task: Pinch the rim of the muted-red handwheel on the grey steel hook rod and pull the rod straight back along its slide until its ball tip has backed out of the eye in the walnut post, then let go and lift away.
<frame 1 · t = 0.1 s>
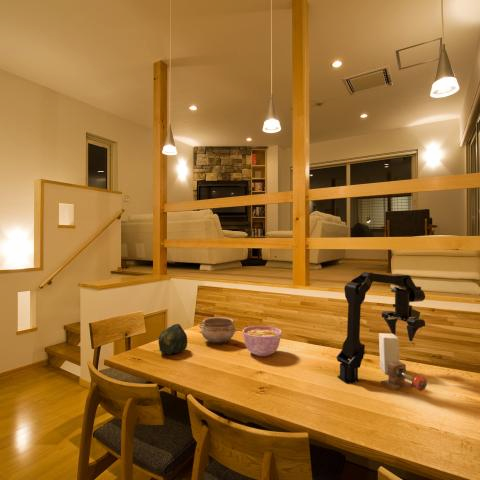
hand: (402, 337, 134), 15 cm above the table, fingers open, 9 cm apart
bowl of food: (261, 354, 154), on the table
hook rod: (404, 375, 117), point 5 cm above the table, slide at 0.0 cm
cooking pot: (218, 342, 172), on the table
skincare box: (388, 371, 134), on the table
eye post: (396, 385, 120), on the table
squash: (172, 352, 156), on the table
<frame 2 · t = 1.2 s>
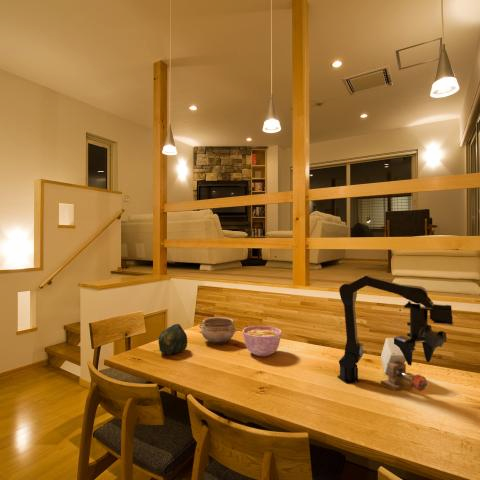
hand: (418, 363, 111), 12 cm above the table, fingers open, 9 cm apart
skincare box: (389, 365, 133), point 3 cm above the table, touching eye post
everything else where it was.
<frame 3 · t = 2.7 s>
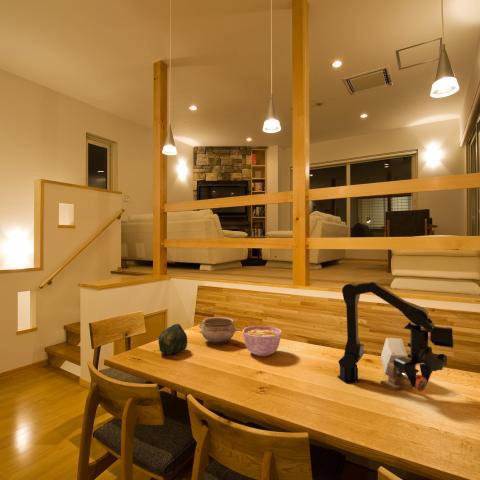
hand: (419, 385, 110), 5 cm above the table, fingers closed on hook rod, 5 cm apart
hook rod: (404, 375, 117), point 5 cm above the table, slide at 0.0 cm, touching gripper
everything else where it was.
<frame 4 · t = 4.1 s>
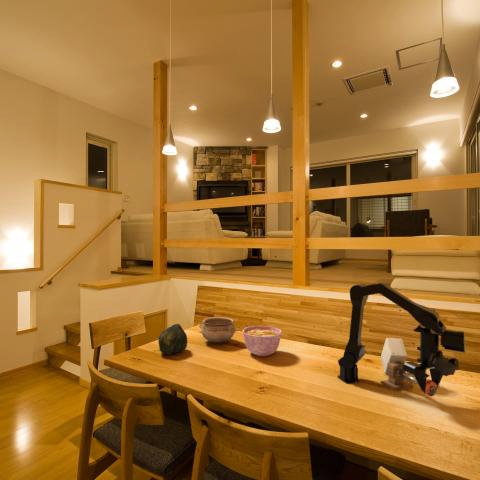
hand: (429, 390, 107), 5 cm above the table, fingers closed on hook rod, 5 cm apart
hook rod: (413, 379, 113), point 5 cm above the table, slide at 4.1 cm, touching gripper
everything else where it was.
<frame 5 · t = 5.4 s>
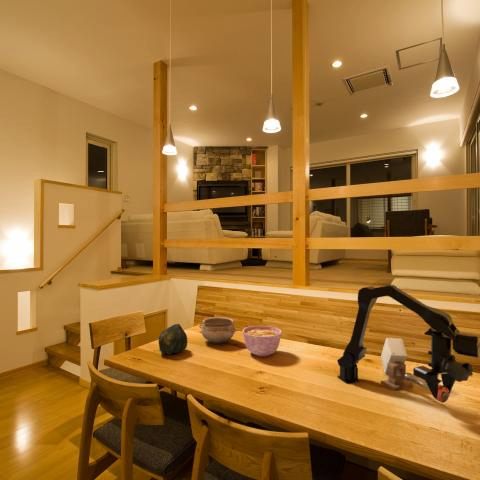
hand: (441, 396, 102), 5 cm above the table, fingers closed on hook rod, 5 cm apart
hook rod: (423, 384, 109), point 5 cm above the table, slide at 8.4 cm, touching gripper
everything else where it was.
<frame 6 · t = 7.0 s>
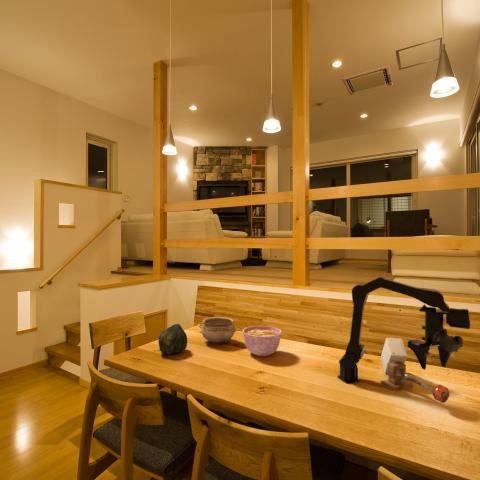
hand: (433, 367, 110), 11 cm above the table, fingers open, 9 cm apart
hook rod: (423, 384, 109), point 5 cm above the table, slide at 8.4 cm
everything else where it was.
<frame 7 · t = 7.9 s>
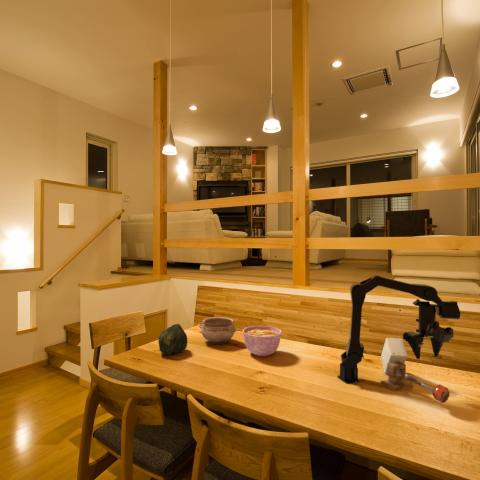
hand: (427, 357, 118), 12 cm above the table, fingers open, 9 cm apart
nothing on the table moved.
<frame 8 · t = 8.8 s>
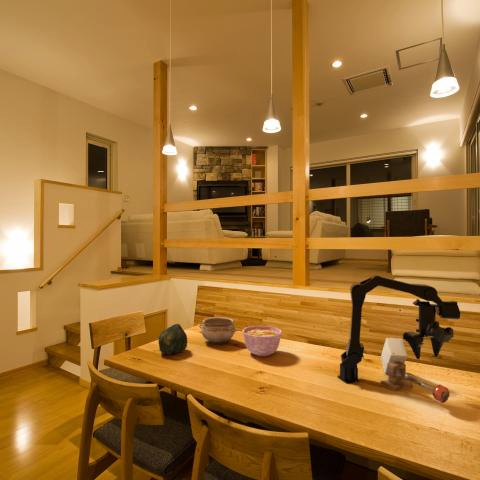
hand: (427, 357, 118), 12 cm above the table, fingers open, 9 cm apart
nothing on the table moved.
at the end: hook rod slide at 8.4 cm; the gripper is holding nothing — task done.
